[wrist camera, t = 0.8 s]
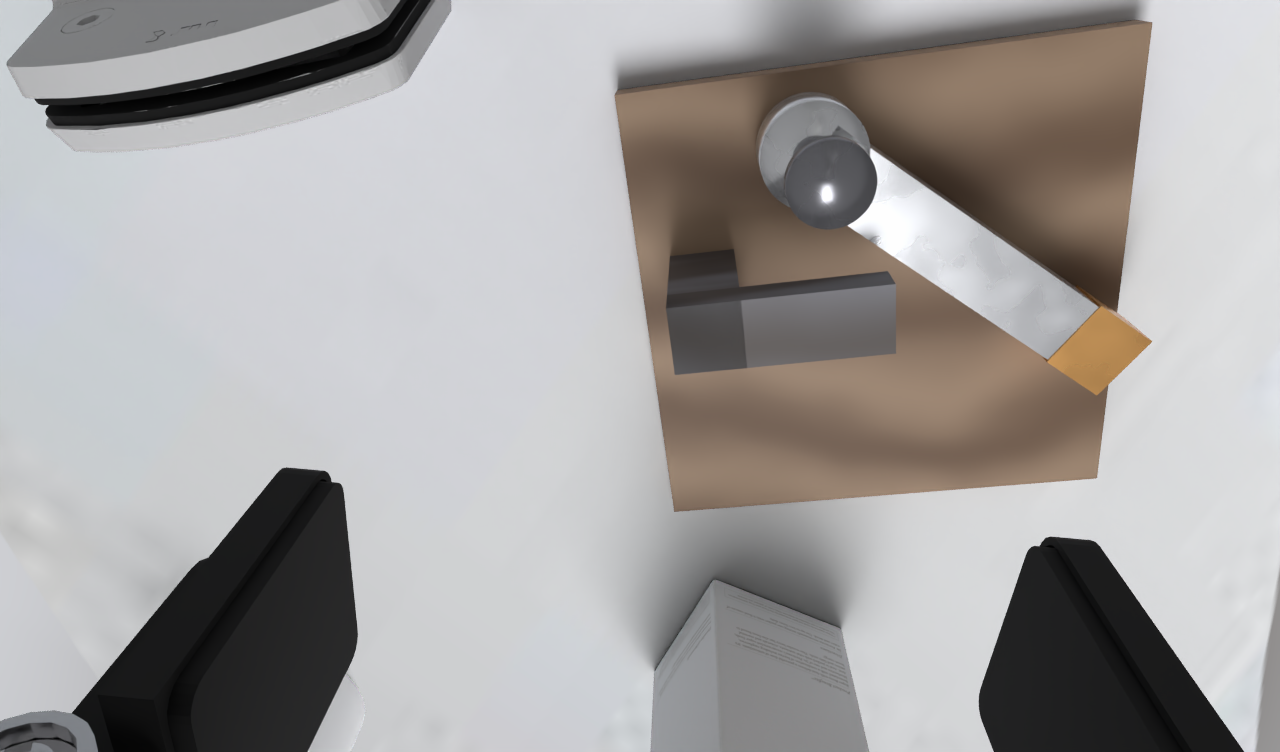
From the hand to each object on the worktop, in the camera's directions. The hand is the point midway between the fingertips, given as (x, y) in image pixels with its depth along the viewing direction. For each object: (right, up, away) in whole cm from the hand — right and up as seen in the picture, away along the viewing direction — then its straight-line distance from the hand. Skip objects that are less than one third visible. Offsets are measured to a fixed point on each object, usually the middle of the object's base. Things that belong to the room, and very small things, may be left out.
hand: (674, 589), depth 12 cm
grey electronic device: (-17, +19, +26) cm, 36 cm away
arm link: (+13, +9, +27) cm, 31 cm away
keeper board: (+11, +7, +30) cm, 32 cm away
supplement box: (+6, -14, +41) cm, 44 cm away
